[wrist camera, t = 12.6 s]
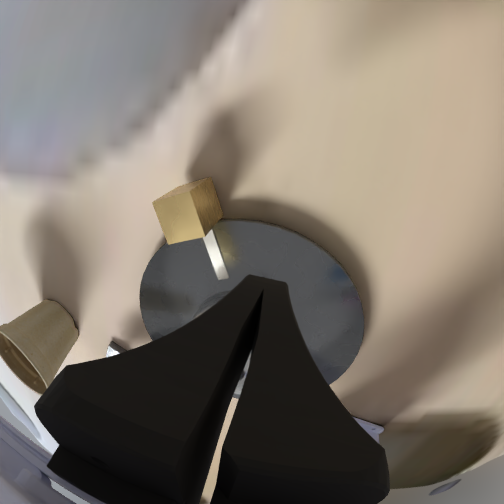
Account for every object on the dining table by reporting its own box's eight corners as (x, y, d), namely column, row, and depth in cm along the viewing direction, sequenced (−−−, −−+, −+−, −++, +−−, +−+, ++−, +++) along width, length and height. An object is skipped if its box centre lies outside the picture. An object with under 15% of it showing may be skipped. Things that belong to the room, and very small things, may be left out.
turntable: (336, 147, 16) (343, 154, 13) (367, 388, 24) (369, 419, 20) (96, 214, 21) (68, 231, 18) (191, 396, 29) (180, 421, 26)
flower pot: (29, 273, 27) (-20, 313, 20) (87, 308, 27) (37, 361, 19) (40, 327, 32) (3, 366, 24) (93, 361, 31) (57, 409, 24)
